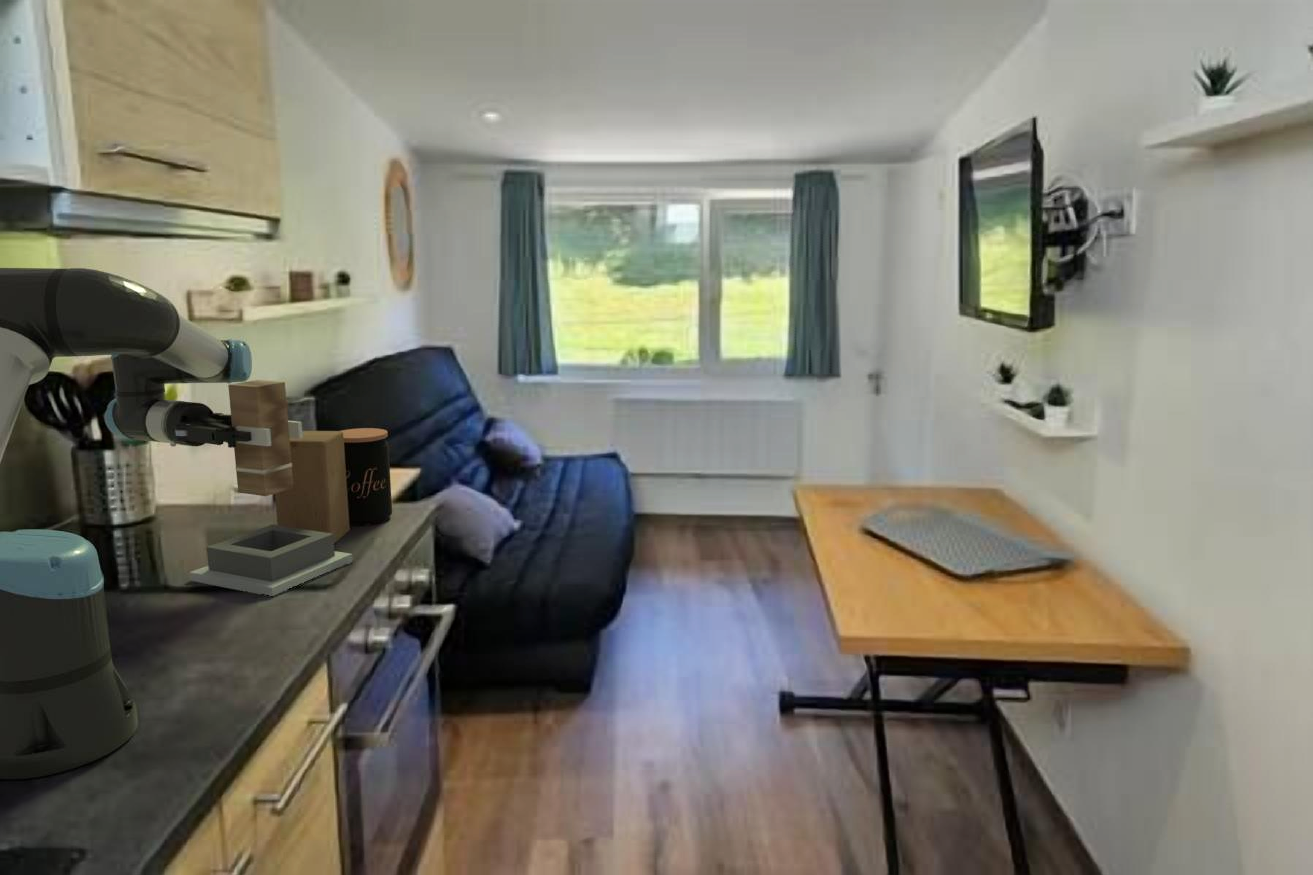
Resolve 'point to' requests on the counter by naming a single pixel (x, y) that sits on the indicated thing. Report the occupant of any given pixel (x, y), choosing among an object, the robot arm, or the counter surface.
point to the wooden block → (316, 485)
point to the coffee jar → (367, 476)
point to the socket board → (269, 585)
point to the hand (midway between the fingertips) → (284, 433)
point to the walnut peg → (254, 463)
